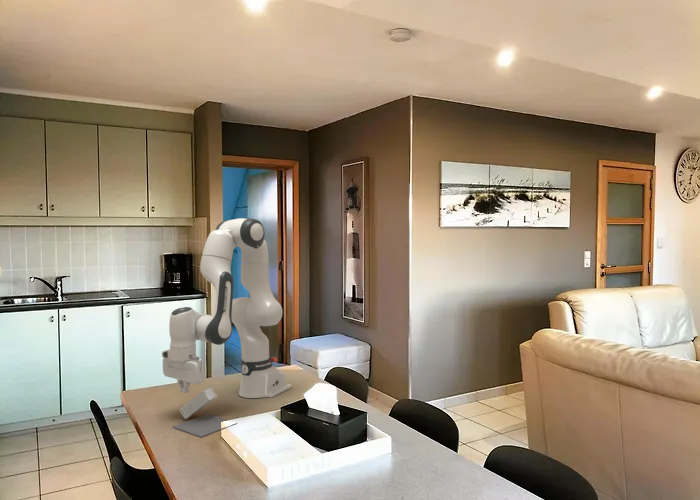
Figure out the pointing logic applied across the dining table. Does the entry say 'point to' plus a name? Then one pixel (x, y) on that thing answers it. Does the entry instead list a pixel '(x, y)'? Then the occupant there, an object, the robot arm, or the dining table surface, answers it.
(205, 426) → the mat
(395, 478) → the dining table surface
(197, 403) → the skincare box
